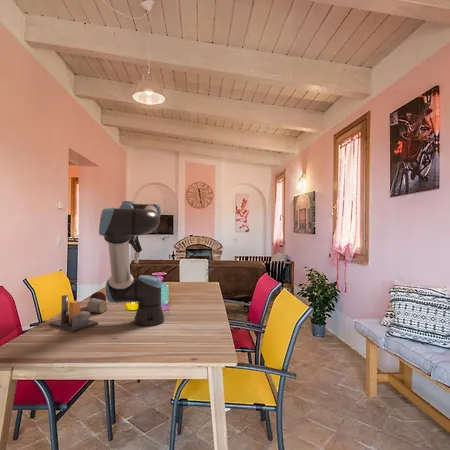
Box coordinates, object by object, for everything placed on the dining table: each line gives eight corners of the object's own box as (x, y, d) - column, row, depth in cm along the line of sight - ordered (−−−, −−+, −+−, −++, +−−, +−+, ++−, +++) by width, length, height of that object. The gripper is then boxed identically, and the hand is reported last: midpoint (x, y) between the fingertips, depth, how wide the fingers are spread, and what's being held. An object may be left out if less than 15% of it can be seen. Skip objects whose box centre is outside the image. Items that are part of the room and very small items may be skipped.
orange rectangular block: (75, 320, 152) (75, 300, 152) (79, 322, 150) (79, 301, 150) (68, 322, 149) (69, 302, 149) (73, 323, 147) (73, 303, 147)
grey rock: (94, 323, 148) (95, 311, 148) (79, 328, 141) (80, 315, 141) (87, 321, 151) (87, 309, 151) (72, 326, 144) (72, 313, 144)
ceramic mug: (98, 315, 166) (98, 301, 166) (86, 313, 169) (86, 299, 169) (111, 310, 176) (111, 297, 176) (100, 309, 179) (100, 295, 179)
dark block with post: (98, 324, 150) (98, 298, 150) (73, 332, 139) (73, 303, 139) (74, 318, 160) (75, 293, 160) (49, 324, 149) (50, 298, 149)
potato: (86, 310, 175) (87, 294, 176) (94, 304, 187) (94, 289, 187) (102, 310, 176) (102, 294, 176) (108, 304, 188) (108, 289, 188)
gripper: (139, 227, 189) (138, 261, 189) (105, 227, 168) (104, 265, 168) (148, 227, 185) (147, 262, 185) (114, 227, 164) (114, 267, 164)
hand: (127, 264), depth 177 cm, fingers open, 13 cm apart
